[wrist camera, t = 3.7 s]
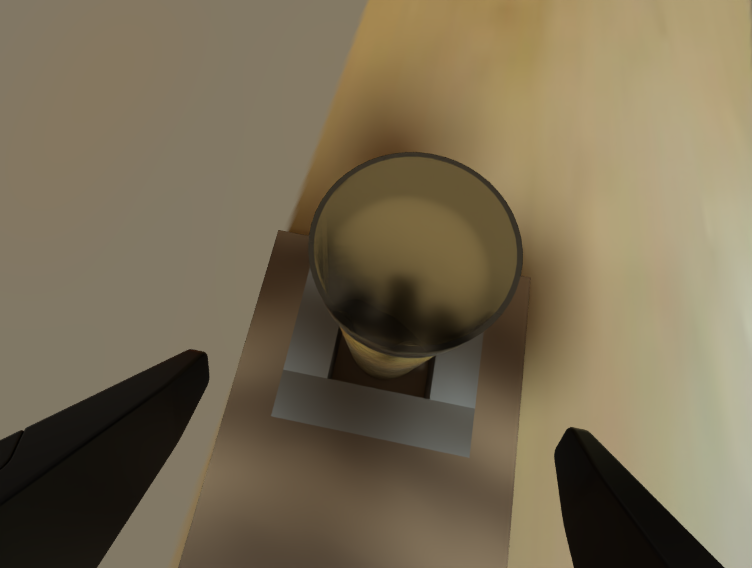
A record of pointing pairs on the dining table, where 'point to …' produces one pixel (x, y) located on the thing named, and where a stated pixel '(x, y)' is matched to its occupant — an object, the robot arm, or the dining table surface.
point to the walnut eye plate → (359, 444)
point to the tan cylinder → (413, 259)
